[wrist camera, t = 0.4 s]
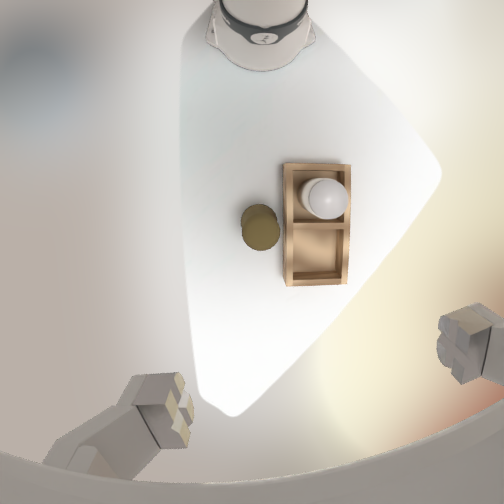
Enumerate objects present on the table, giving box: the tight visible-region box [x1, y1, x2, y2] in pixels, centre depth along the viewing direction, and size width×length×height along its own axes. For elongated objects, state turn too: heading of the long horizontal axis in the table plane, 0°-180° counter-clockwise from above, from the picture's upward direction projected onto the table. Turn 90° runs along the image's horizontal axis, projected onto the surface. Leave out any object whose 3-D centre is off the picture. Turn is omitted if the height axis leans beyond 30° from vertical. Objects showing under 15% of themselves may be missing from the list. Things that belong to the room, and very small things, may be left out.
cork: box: [241, 204, 280, 251], centre depth 46 cm, size 6×6×11 cm
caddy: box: [283, 163, 351, 286], centre depth 49 cm, size 19×10×5 cm, turn 1°
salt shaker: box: [297, 178, 348, 219], centre depth 44 cm, size 6×6×10 cm
